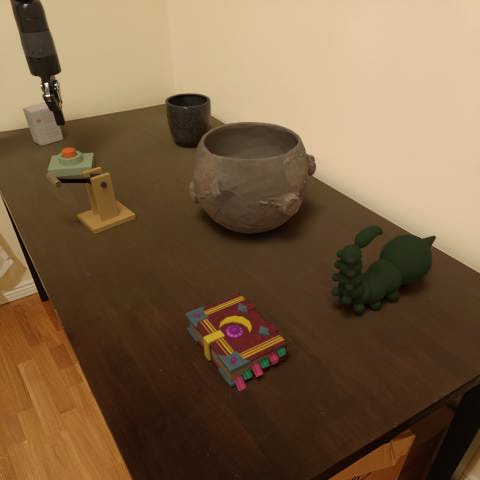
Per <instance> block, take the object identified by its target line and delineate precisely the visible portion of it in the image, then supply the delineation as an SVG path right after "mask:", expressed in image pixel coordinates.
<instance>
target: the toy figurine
mask: <svg viewBox="0 0 480 480" xmlns="http://www.w3.org/2000/svg"><path fill="white" fill-rule="evenodd" d="M383 234H384V230H383V228H382V227H380V226H378V225H374V224H373V225H367V226H366V227H365V228H362V229H361V230H360V231H359V232H358V233H357V234H356V235H355V237H354V241H353V243H354V244H353V243H352V244H351V243H350V244H348V245H345V246H344V247H342V249H338V250H337V251H336V257H337V258H339V259H337V260H335V261H334V262H333V267H334V268H335V269H337V270H339V271H338V272H333V274H332V275H331V280H332V281H333V282H338V284H337V286H335V287H333V288H332V289H331V291H330V292H331V295H332V296H333V297H338V299H339V300H340V301H341V302H342V304H343V305H346V306H348V305H350V304H352V310H353V311H354V312H355V313H356V314H361V313H363V312H364V311H365V305H369V308H370V309H371V310H374V311H377V310H380V308H381V307H382V299H383V298H385V297H386V298H387V300H389V301H393V302H394V301H396V300H397V299H398V298H399V297H400V296H401V293H400V290H399V289H400V288H401V287H402V286H404V287H408V286H411V285H413V284H415V283H416V282H419V281H421V280H422V279H424V277H426V276H427V275H428V273H429V272H430V269H431V268H432V265H433V254H432V253H433V252H432V249H431V247H432V246H433V245H434V243H435V241H436V238H437V236H436V235H430V236H427V237H423V238H422V237H420V236H418V235H414V234H408V233H407V234H400V235H397V236H395V237H393V238H391V239H390V240H388V241H387V242H386V243H385V244H384V245H383V247H382V249H381V251H380V253H379V258H378V259H377V260H376V261H374V262H372V263H371V264H370V265H369V266H368V268H367V269H366V271H364V272H363V271H362V270H363V268H364V267H363V266H364V265H363V260H362V259H363V258H362V257H363V252H362V250H361V249H364V248H366V247H368V246H369V245H370V244H371V243H372V242H373V241H374V239H375V238H377V237H378V236H382V235H383Z"/></svg>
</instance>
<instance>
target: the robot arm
mask: <svg viewBox="0 0 480 480" xmlns="http://www.w3.org/2000/svg"><path fill="white" fill-rule="evenodd" d="M9 1H10V6H11V10H12V15H13V18H14V22H15V24H16V28H17V30H18V34H19V35H18V36H19V40H20V45H21V47H22V51H23V53H24V57H25V61H26V63H27V67H28V70H29V72H30V75H32V76H33V77H38V78H40V81H41V83H39V85H40V89H41V91H42V92H43V94H42V95H41V96H42V99H43V101H44V103H46V104H47V106H48V108H49V110H50V111H52V112H53V114H54V118H55V121H56V124H57V126H60V127H63V126H66V119H65V115H64V112H63V100H62V99H63V98H62V93H61V87H60V85H61V84H60V81H59V80H58V79H57V78H56V75H60V73H62V67H61V62H60V59H59V55H58V52H57V48H56V44H55V40H54V37H53V35H52V31H51V30H50V25H49V21H48V17H47V15H46V10H45V8H44V6H43V3H42V1H41V0H9Z"/></svg>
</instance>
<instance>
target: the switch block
mask: <svg viewBox="0 0 480 480" xmlns="http://www.w3.org/2000/svg"><path fill="white" fill-rule="evenodd" d="M75 152H76V156H75V157H72V158H64V157H63V154H62V152H60V153H58V154H57V155H56V154H55V155H51V158H50V161H49V164H48V167H47V170H46V171H47V173H51V174H52V175H53V176H55V177H76V176H83V173H82V172H84V171H87V170H90V169H94V168H95V163H96V157H95V153H94V152H84V153H83V152H81V151H80V150H75Z"/></svg>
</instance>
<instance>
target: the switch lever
mask: <svg viewBox="0 0 480 480" xmlns="http://www.w3.org/2000/svg"><path fill="white" fill-rule="evenodd" d="M98 175H101V174H90V177H83V176H82V177H81V176H62V177H55V176H53V175H52V174H51V173H48V172H47V173H46V174H45V178H46V180H48V181H49V183H51V184H52V185H53V186H54V187H55V188H61V187H62V185H63V184H85V183H90V184H91V180H90V178H92V177H95V176H98ZM91 185H92V184H91Z"/></svg>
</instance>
